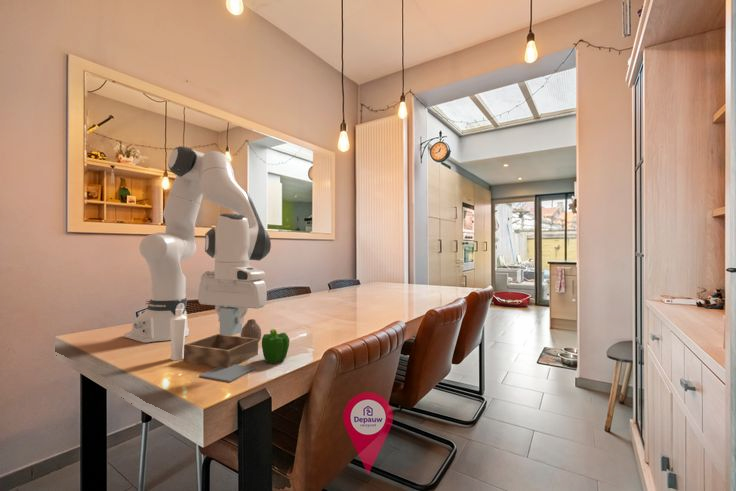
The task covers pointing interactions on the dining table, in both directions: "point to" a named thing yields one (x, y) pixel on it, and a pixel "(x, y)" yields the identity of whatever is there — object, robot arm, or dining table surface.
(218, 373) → the pad
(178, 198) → the robot arm
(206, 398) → the dining table surface
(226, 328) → the block
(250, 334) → the vase
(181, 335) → the perfume bottle
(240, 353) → the walnut crate
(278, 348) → the bell pepper
